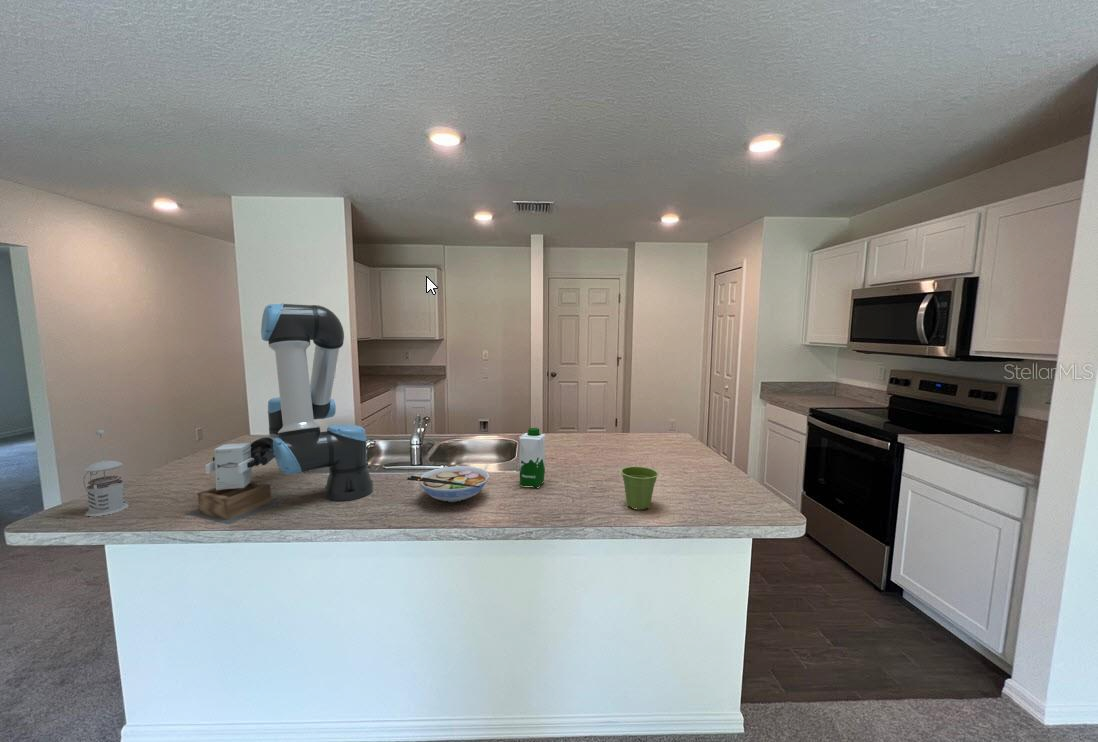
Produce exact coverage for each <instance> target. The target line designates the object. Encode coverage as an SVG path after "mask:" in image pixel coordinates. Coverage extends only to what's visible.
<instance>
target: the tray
mask: <svg viewBox="0 0 1098 742" xmlns="http://www.w3.org/2000/svg"><path fill="white" fill-rule="evenodd" d="M197 499H198V500H197V501H198V509H199V513H203V514H207V515H211V516H215V517H220V518H224V519H228V520H229V519H231V518H234V517H236V516H239V515H242V514H244V513H247V512H249V511H252V510H254V509H257V508H259V507H262V506H264V505H267V504H270V503H271V499H272V495H271V484H268V483H264V482H258V481H253V480H252V481H251V482H250V483H249V484H248V485H247V486H245V487H244V488H235V489H222V490H216V487H214V488H210V489H207V490H203V491H201V492H198V493H197Z"/></svg>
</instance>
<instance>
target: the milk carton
mask: <svg viewBox="0 0 1098 742" xmlns="http://www.w3.org/2000/svg"><path fill="white" fill-rule="evenodd" d="M518 439H519V440H518V442H519V486H520V485H522V486H533V487H539V486H540V485H541V484H542V482H543V481H544V482H545V473H546V472H545V471H546V469H545V468H546V434H545V433H543V434H542V433H540V429H539V428H537V427H529V428H528V430H527V432H525V433H523V434H522V435H520V437H519V438H518ZM544 482H543V483H544ZM542 485H543V484H542ZM542 485H541V486H542ZM541 486H540V487H541Z"/></svg>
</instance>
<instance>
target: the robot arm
mask: <svg viewBox="0 0 1098 742" xmlns="http://www.w3.org/2000/svg"><path fill="white" fill-rule="evenodd" d="M260 327H261V328H260V334H261V340H262V341H265V342H268V347H269V348H270V349H271V350H272V351H274V354H275V363H276V372H277V373H276V374H277V381H278V391H279V393H278V394H279V397H273V398H270V399H269V400H268V402H267V414H268V415H267V416H268V434H267V435H265V436H261V438H260V437H259V438H258V439H256V440H255V441H252V442H251V458H249V459H248V460H246V461H244V462H242V463H240V464H238V465H237V466H238V473H242V472H244V471H246V470H248V469H250V468H251V467H252V468H254V467H258V466H260V465H261V466H265V465H267V464H269V462H271V461H272V460H273V459H275V462H276V464H277V466H278V469H279V470H280V472H281V473H282V474H285V475H294V474H302V473H305V472H310V471H315V470H320V469H325V468H328V470H329V474H328V477H327V481H326V485H325V486H324V491H323V492H324V493H323V494H324V498H325V499H328V500H329V501H335V502H336V501H337V502H339V501H340V502H341V501H343V502H344V501H353V500H356V499H360V498H364V497H366V496H369V495H371V493H372V492H373V491H374V483H373V480H372V478H371V474H370V472H369V469H368V456H367V455H368V453H367V450H368V449H367V440H368V439H367V435H366V430H365V428H364V427H363V426H360V425H355V424H341V423H340V424H332V425H328V426H327V429H326V431H321V425H319V424H317V423H315V420H323V419H329V418H332V417H334V416H335V415H336V411H337V410H336V408H337V407H336V402H335V400H334V399H333V398H331V397H332V392H333V387H334V380H335V375H336V369H337V364H338V363H337V362H338V358H339V357H338V356H339V352H340V349H341V348H342V347H343V345H344V342H345V331H344V327H343V325H342V323H341V321H340V319H339V317H338V316H337V315H336V314H335V313H334V312H333V311H331V310H330V309H329V308H327V307H325V306H322V305H319V304H318V305H316V304H311V305H310V304H297V303H294V304H292V303H270V304H267V305H266V306H265V307H264V309H263V314H262V318H261V326H260ZM311 341H312V342H313V344H314V345H315V346H314V354H313V363H312V368H311V376H310V373H309V367H308V356H307V349H308V348H309V347H310V346H311ZM310 377H311V378H310ZM204 466H205V474H206V475H209V474H211V473H214V472H215V456H213V457H212V461H210V462H209V463H207V464H204Z"/></svg>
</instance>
